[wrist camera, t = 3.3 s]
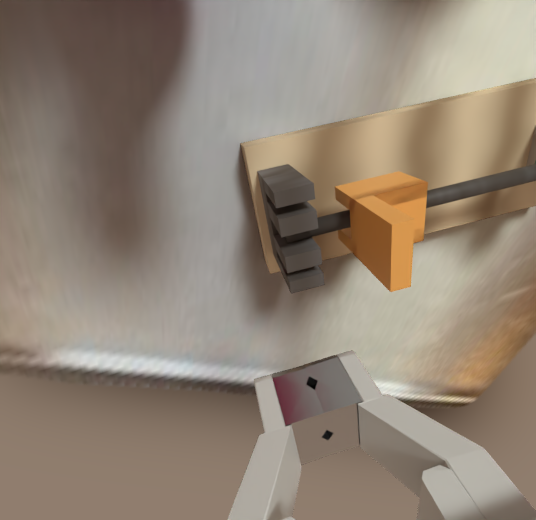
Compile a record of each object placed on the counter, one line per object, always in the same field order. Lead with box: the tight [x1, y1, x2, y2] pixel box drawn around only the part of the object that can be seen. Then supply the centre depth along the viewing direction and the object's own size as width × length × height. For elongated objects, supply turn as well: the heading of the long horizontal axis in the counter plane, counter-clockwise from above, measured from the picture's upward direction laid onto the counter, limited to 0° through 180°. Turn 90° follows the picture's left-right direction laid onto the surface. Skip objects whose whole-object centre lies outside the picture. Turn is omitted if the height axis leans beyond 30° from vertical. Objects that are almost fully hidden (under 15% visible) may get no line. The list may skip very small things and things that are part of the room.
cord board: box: [240, 78, 536, 293], centre depth 20 cm, size 24×9×8 cm, turn 101°
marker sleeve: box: [335, 171, 428, 292], centre depth 16 cm, size 4×3×6 cm
